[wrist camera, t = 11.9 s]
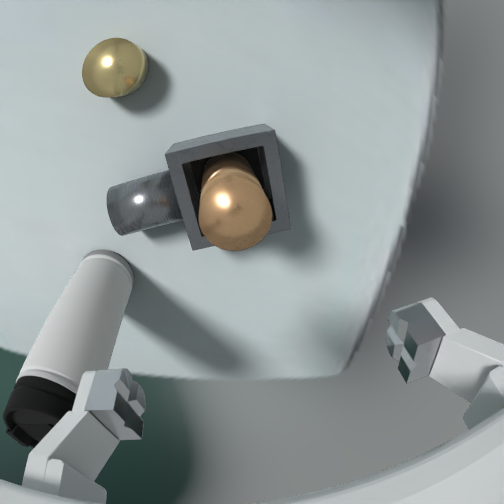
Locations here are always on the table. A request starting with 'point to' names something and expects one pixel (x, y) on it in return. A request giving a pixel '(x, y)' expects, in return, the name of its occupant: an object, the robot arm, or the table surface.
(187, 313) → the table surface
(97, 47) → the brass round knob
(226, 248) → the copper brown cylinder
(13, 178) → the table surface
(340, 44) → the table surface
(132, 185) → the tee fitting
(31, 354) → the travel mug
